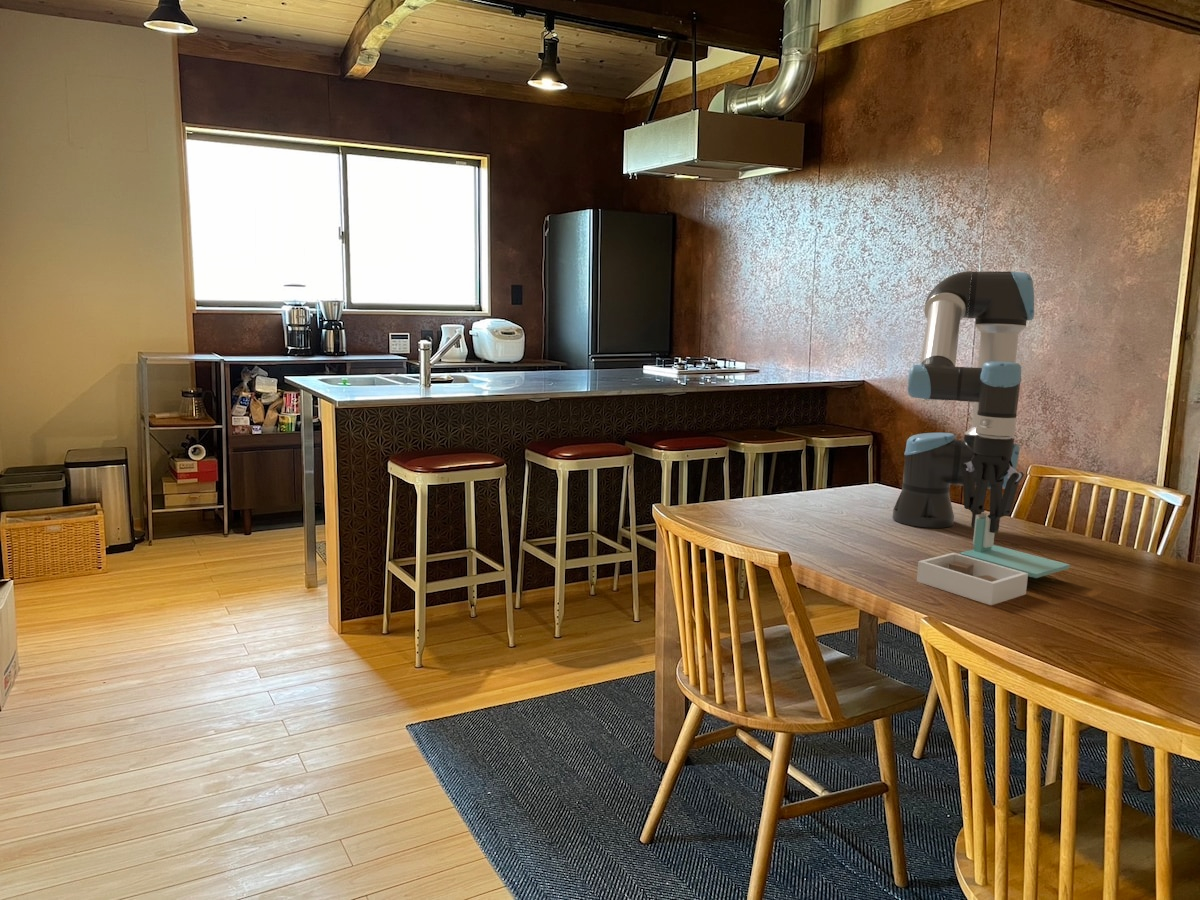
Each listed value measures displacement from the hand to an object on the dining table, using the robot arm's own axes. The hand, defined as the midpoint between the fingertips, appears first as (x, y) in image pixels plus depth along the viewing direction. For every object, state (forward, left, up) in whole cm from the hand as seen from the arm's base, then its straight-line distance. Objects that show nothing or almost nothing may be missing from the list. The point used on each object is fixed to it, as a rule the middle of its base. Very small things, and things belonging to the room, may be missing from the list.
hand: (982, 545), depth 184 cm
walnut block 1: (+13, +3, -5) cm, 14 cm away
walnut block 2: (+17, +11, -5) cm, 21 cm away
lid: (0, +7, -2) cm, 7 cm away
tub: (+15, +7, -6) cm, 17 cm away
